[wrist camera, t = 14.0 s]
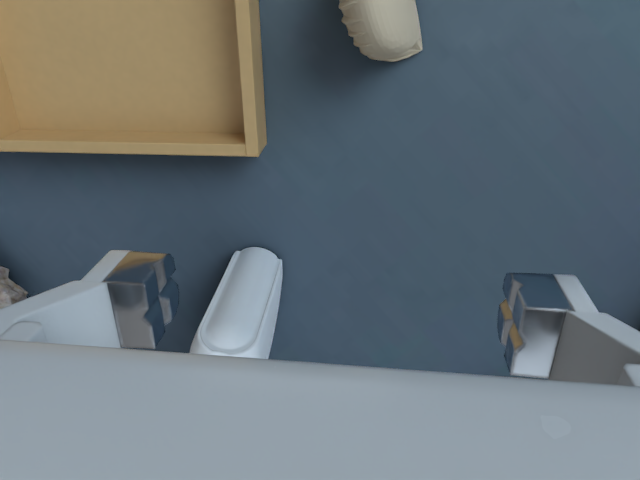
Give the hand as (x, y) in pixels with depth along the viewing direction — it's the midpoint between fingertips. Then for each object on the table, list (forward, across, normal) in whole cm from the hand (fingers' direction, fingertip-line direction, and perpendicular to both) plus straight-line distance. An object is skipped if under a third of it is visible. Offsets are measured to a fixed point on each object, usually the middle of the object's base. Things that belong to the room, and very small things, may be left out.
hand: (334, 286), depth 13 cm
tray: (+22, +15, -4) cm, 27 cm away
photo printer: (+23, +8, +16) cm, 29 cm away
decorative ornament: (+23, 0, -6) cm, 24 cm away
